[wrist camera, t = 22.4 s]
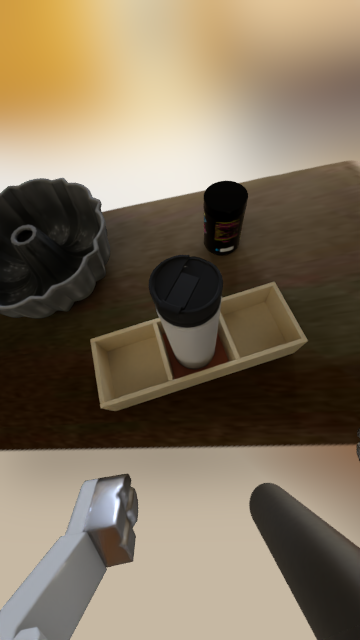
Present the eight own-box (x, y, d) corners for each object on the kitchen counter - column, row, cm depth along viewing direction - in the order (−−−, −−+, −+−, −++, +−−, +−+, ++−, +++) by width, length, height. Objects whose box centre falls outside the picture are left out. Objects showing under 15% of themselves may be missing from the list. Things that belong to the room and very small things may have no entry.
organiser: (293, 353, 37) (308, 341, 32) (115, 411, 36) (100, 408, 31) (265, 299, 41) (274, 281, 36) (104, 350, 40) (90, 339, 35)
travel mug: (166, 362, 37) (131, 299, 19) (184, 325, 40) (167, 238, 21) (204, 378, 36) (204, 327, 18) (220, 339, 38) (235, 258, 20)
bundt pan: (42, 364, 40) (-6, 346, 31) (-33, 282, 49) (-88, 248, 40) (151, 259, 47) (138, 218, 38) (68, 203, 55) (41, 159, 46)
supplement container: (230, 225, 48) (236, 175, 39) (245, 250, 46) (256, 203, 36) (198, 236, 48) (197, 188, 39) (211, 261, 45) (213, 217, 36)
